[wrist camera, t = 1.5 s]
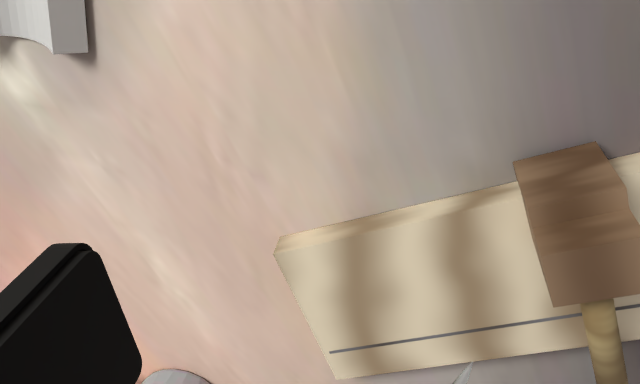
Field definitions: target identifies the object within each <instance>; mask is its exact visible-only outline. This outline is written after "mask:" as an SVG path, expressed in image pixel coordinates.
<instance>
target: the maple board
mask: <svg viewBox="0 0 640 384" xmlns="http://www.w3.org/2000/svg"><path fill="white" fill-rule="evenodd" d="M608 161H609V162H610V164H611V165H612V167H613V168H614V170H615V171H616V173H617V174H618V175H619V177H620V178H621V180H622V181H623V183H624V184H625V186H626V187H627V194H628V201H629V208H630V210H631V212H632V213H633V215H634V216H635V218H636V220H637V221H638V223H639V224H640V152H639V153H635V154H631V155H626V156H622V157H618V158H614V159H609V160H608ZM273 255H274V257H275V259H276V261H277V263H278V265H279V267H280V269H281V271H282V273H283V275H284V277H285V279H286V281H287V283H288V285H289V287H290V289H291V291H292V293H293V295H294V297H295V299H296V301H297V303H298V305H299V307H300V309H301V311H302V313H303V315H304V317H305V319H306V321H307V323H308V325H309V327H310V329H311V331H312V333H313V334H314V336H315V338H316V340H317V342H318V344H319V346H320V348H321V350H322V352H323V354H324V356H325V358H326V360H327V362H328V364H329V366H330V368H331V370H332V372H333V374H334V376H335V378H336V380H339V379H347V378H354V377H362V376H369V375H377V374H384V373H392V372H399V371H407V370H414V369H422V368H429V367H437V366H444V365H451V364H459V363H466V362H474V361H481V360H489V359H496V358H504V357H511V356H519V355H526V354H534V353H541V352H549V351H556V350H564V349H571V348H579V347H586V346H589V345H588V340H587V335H586V331H585V326H584V321H583V316H582V312H581V307H580V304H574V305H568V306H561V307H555V308H553V305H552V302H551V298H550V295H549V292H548V288H547V285H546V282H545V279H544V275H543V272H542V269H541V266H540V262H539V259H538V256H537V253H536V249H535V246H534V243H533V239H532V236H531V232H530V227H529V223H528V219H527V215H526V211H525V207H524V203H523V199H522V195H521V191H520V188H519V185H518V181H516V182H512V183H508V184H503V185H499V186H495V187H491V188H486V189H482V190H478V191H474V192H469V193H465V194H461V195H457V196H452V197H448V198H444V199H440V200H435V201H431V202H427V203H423V204H418V205H414V206H410V207H406V208H401V209H397V210H393V211H389V212H385V213H380V214H376V215H372V216H368V217H363V218H359V219H355V220H351V221H346V222H342V223H338V224H334V225H329V226H325V227H321V228H317V229H312V230H308V231H304V232H300V233H295V234H291V235H287V236H283V237H280V239H279V241H278V244H277V246H276V248H275V251H274V253H273ZM613 299H614V305H615V310H616V316H617V322H618V328H619V333H620V339H621V342H624V341H631V340H639V339H640V294H637V295H631V296H625V297H618V298H613Z"/></svg>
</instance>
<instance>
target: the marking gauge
mask: <svg viewBox="0 0 640 384" xmlns="http://www.w3.org/2000/svg"><path fill="white" fill-rule="evenodd" d="M513 165H514V170H515V174H516V178H517V181H518V185H519V188H520V191H521V195H522V199H523V203H524V207H525V211H526V215H527V219H528V223H529V227H530V232H531V236H532V239H533V243H534V246H535V249H536V253H537V256H538V259H539V262H540V266H541V269H542V272H543V275H544V279H545V282H546V285H547V288H548V292H549V295H550V298H551V302H552V305H553V308H555V307H561V306H568V305H574V304H580V307H581V312H582V316H583V321H584V326H585V331H586V335H587V340H588V345H589V350H590V354H591V359H592V364H593V369H594V374H595V378H596V383H597V384H628V379H627V374H626V368H625V362H624V356H623V351H622V345H621V339H620V333H619V328H618V322H617V316H616V310H615V305H614V299H613V298H618V297H625V296H631V295H637V294H640V224H639V223H638V221H637V220H636V218H635V216H634V215H633V213H632V212H631V210H630V208H629V201H628V194H627V187H626V186H625V184H624V183H623V181H622V180H621V178H620V177H619V175H618V174H617V173H616V171H615V170H614V168H613V167H612V165H611V164H610V162H609V161H608V159H607V158H606V156H605V155H604V153H603V152H602V150H601V149H600V147H599V146H598V144H597V143H596V141H595V142H591V143H587V144H583V145H579V146H575V147H571V148H567V149H563V150H559V151H555V152H551V153H547V154H542V155H538V156H534V157H530V158H526V159H522V160H518V161H514V162H513Z"/></svg>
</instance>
